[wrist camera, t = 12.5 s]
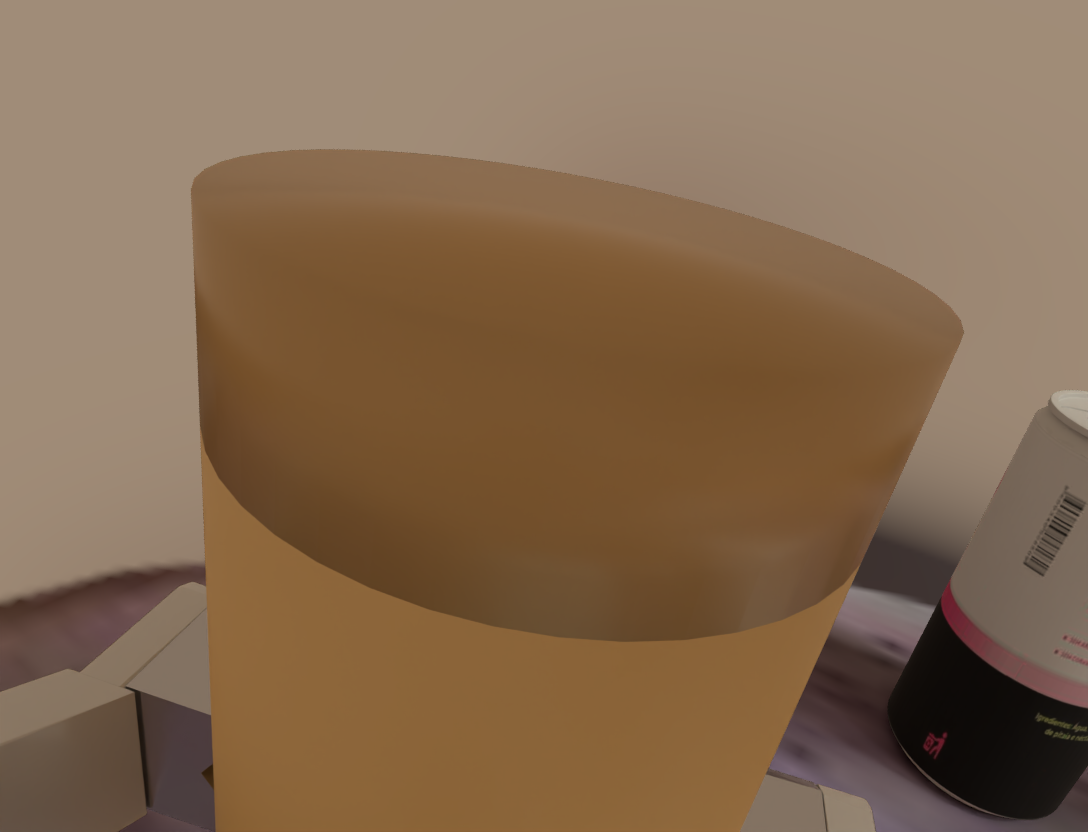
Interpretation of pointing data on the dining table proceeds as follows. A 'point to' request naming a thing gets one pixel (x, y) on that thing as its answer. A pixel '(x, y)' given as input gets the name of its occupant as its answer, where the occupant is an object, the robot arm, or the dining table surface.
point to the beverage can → (1011, 637)
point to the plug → (527, 489)
